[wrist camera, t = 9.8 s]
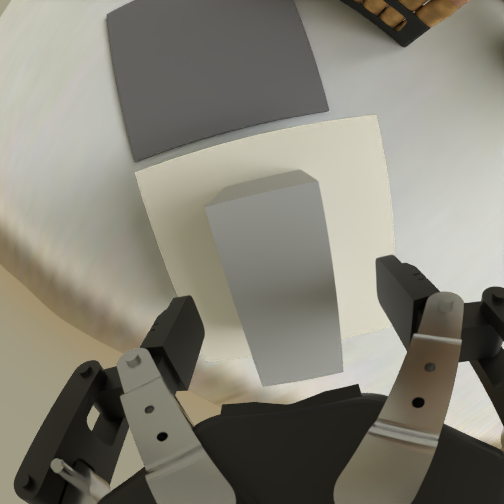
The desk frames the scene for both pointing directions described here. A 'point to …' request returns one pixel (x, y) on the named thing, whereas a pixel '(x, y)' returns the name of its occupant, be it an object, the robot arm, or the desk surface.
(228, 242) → the lid
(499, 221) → the desk surface
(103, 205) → the desk surface
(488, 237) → the desk surface
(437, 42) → the desk surface
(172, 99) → the mat
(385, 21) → the ammunition clip
